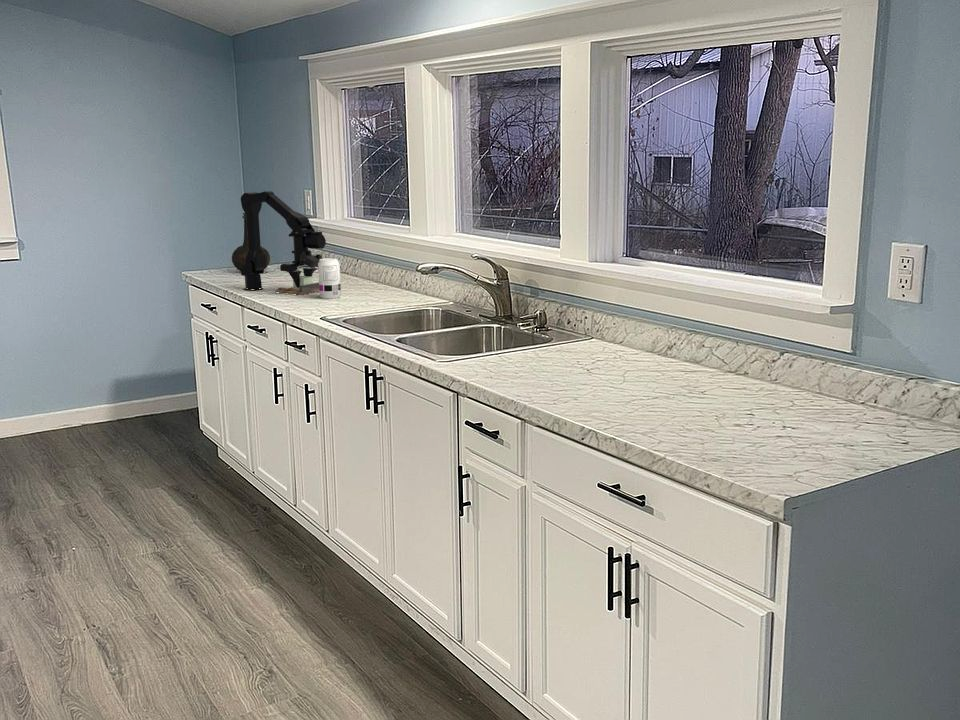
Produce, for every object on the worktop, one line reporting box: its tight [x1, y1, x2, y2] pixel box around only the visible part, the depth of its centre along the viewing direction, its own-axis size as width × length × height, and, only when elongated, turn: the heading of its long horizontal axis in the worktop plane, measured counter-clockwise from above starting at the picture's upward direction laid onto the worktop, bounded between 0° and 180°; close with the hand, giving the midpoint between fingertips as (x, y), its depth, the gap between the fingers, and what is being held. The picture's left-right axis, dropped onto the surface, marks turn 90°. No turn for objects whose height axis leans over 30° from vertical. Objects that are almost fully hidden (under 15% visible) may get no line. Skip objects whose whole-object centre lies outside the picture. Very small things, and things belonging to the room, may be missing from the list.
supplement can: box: [317, 257, 342, 300], centre depth 368 cm, size 8×8×15 cm
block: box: [292, 275, 314, 289], centre depth 382 cm, size 6×5×5 cm
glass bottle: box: [231, 212, 271, 271], centre depth 448 cm, size 18×18×28 cm
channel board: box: [275, 282, 320, 296], centre depth 384 cm, size 14×13×4 cm
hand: (303, 286), depth 383 cm, fingers closed on block, 5 cm apart
